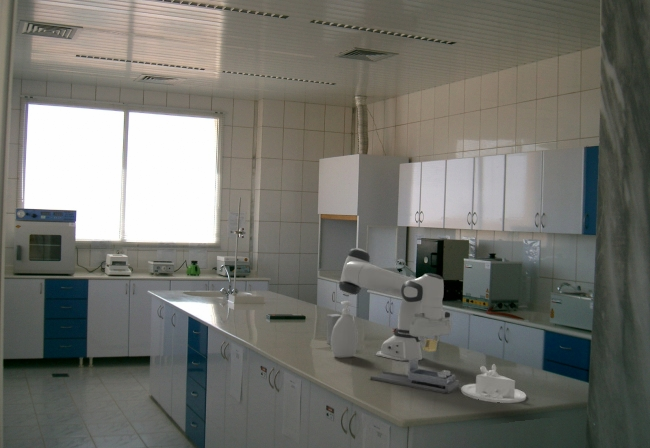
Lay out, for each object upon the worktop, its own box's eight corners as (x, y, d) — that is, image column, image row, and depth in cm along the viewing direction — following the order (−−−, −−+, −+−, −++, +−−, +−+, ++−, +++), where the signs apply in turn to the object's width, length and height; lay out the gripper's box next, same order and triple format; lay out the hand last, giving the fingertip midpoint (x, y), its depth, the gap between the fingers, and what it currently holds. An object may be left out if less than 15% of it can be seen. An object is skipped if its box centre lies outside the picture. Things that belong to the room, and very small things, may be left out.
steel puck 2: (440, 378, 266) (440, 371, 266) (443, 377, 269) (443, 369, 269) (448, 380, 264) (448, 372, 264) (451, 378, 267) (451, 371, 267)
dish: (448, 392, 260) (450, 364, 260) (483, 383, 278) (484, 357, 278) (504, 407, 243) (505, 377, 243) (537, 397, 260) (538, 368, 260)
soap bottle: (351, 354, 325) (354, 299, 324) (360, 357, 317) (363, 301, 317) (325, 355, 318) (328, 299, 318) (333, 359, 311) (336, 301, 311)
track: (370, 379, 274) (370, 372, 274) (383, 374, 285) (383, 367, 285) (448, 393, 257) (448, 386, 257) (458, 387, 267) (459, 380, 267)
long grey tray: (406, 383, 267) (407, 361, 267) (416, 379, 276) (417, 357, 276) (446, 390, 259) (447, 367, 258) (454, 385, 267) (455, 363, 267)
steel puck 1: (436, 381, 261) (437, 373, 261) (438, 379, 265) (438, 371, 265) (445, 381, 260) (445, 374, 260) (446, 379, 264) (446, 372, 264)
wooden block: (428, 351, 270) (429, 340, 270) (422, 349, 273) (423, 338, 273) (436, 351, 272) (436, 340, 272) (429, 349, 275) (430, 338, 275)
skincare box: (343, 346, 344) (345, 315, 344) (331, 346, 341) (332, 315, 341) (337, 343, 352) (339, 313, 352) (325, 343, 349) (326, 313, 349)
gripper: (417, 314, 264) (415, 349, 264) (454, 313, 275) (452, 346, 275) (407, 312, 269) (405, 346, 269) (444, 311, 280) (442, 343, 280)
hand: (429, 346), depth 272 cm, fingers closed on wooden block, 4 cm apart
